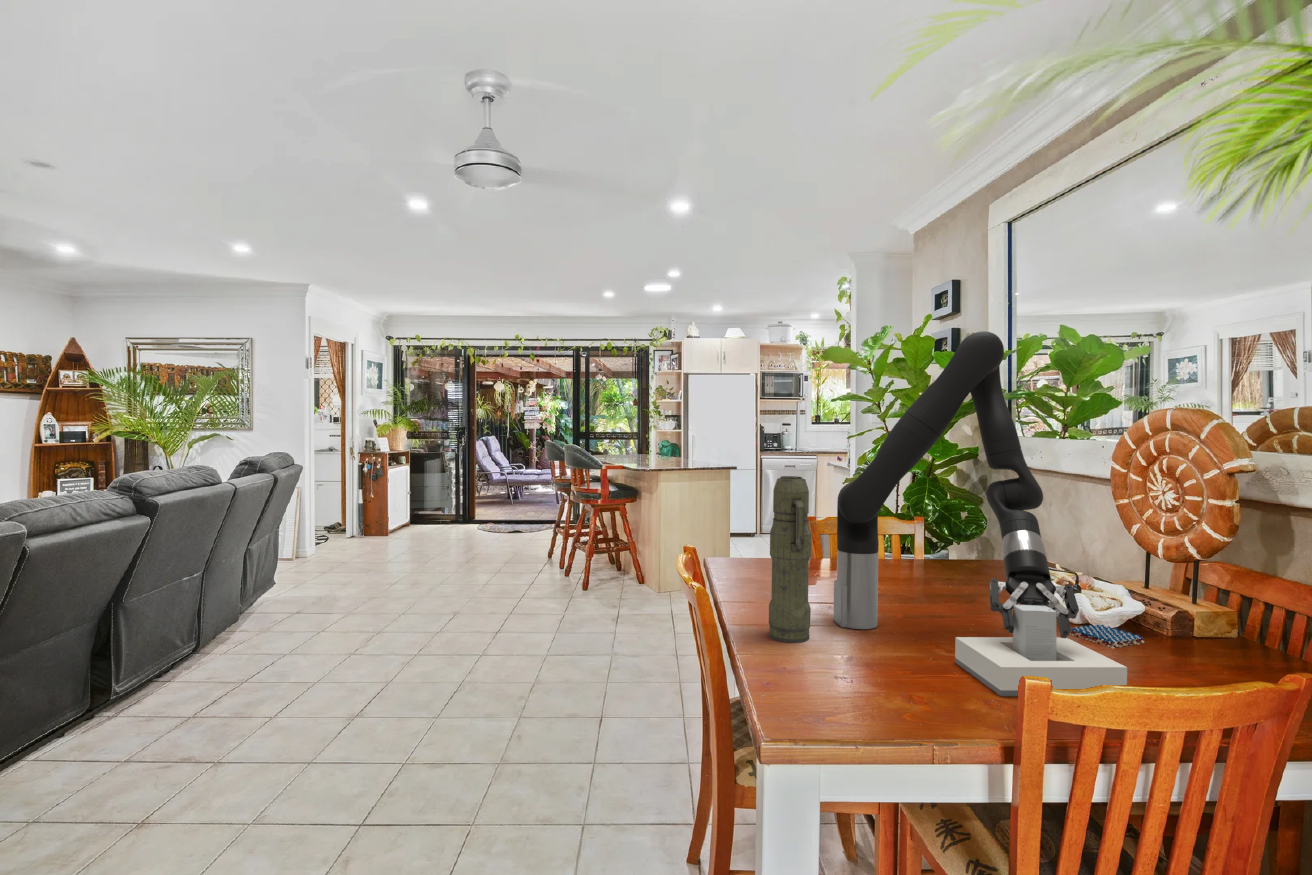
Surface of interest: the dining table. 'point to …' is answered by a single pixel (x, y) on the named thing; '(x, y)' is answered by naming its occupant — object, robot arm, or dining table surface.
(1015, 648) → the skincare box
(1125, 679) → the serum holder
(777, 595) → the thermos
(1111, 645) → the woven mat
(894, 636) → the dining table surface
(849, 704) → the dining table surface
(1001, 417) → the robot arm
